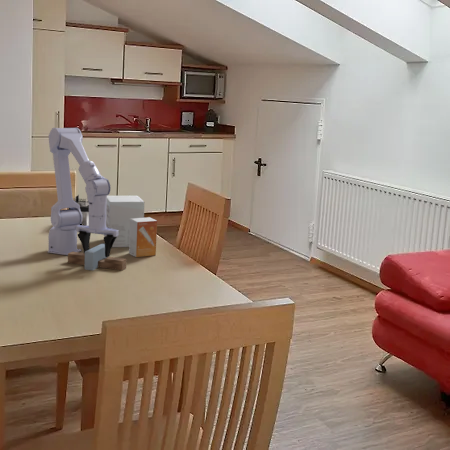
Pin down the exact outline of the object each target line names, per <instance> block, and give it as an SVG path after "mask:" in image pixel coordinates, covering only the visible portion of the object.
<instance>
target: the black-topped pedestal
mask: <svg viewBox="0 0 450 450" xmlns="http://www.w3.org/2000/svg"><path fill="white" fill-rule="evenodd" d="M73 200H74V201H75V202H76V203H78V204H79V205H80V211H81V213H82V223H81V224H84V226H89V201H88V200H87V198H80V194H77V196H74V197H73ZM67 209H70V208H67Z"/></svg>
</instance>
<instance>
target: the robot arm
mask: <svg viewBox="0 0 450 450" xmlns="http://www.w3.org/2000/svg"><path fill="white" fill-rule="evenodd" d="M83 139H84V138H83V134H82V131H81V130H80V128H78V127H63V128H62V127H52V128H51V129H50V132H49V134H48V145H49V152H50V153H51V154H52V156H53V157H52V159H53V168H54V176H55V177H54V178H55V184H56V185H55V186H56V194H57V195H56V196H57V201H56V202H55V203H54V204H53V205H52V206H51V208H50V211H51V213H50V223H51V226H52V227H51V228H50V229H49V231H48V236H47V237H48V250H47V252H46V253H48V254H56V255H63V256H68V253H70V252H79V253H81V252H82V250H83V253H84V254H85V251H87V250H89V249H90V240H91V234H94V235H95V234H97V235H103V236H104V235H107V236H105V237H103V241H104V243H103V244H105V257H108V256H109V257H111V252H112V248H113V247H112V245H113V243H114V241H115V239H116V238H117V236H118V235H119V230H115V229H111V228H107V227H106V207H107V196H110V193H111V184H110V181H109V179H108V178H106V177H105V176H103V175H101V174H102V173H100V171H99V169H98V167H97V166H96V163H95V162H94V161H92V160H90V159H89V156H88V154H87V152H86V149H85V148H84V145H83ZM70 154H71V155H72V156H73V157H74V159H75V160H76V162H77V164H78V165H79V166H78V173H79V174H80V175H81V177H82V180H83V181H84V183H85V189H84V190H85V193H86V197H87V198H86V199H87V200H86V201H88V202H89V226H86V225H80V224H81V223H82V213H81V211H80V205H79V204H78V203H76V202H75V199H74V200H73V198H74V197H73V188H72V178H71V170H70V169H71V168H70V161H69V156H70ZM68 208H70V209H68ZM78 239H79V242H80V243H81V246H82V249H80V248H78Z"/></svg>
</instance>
